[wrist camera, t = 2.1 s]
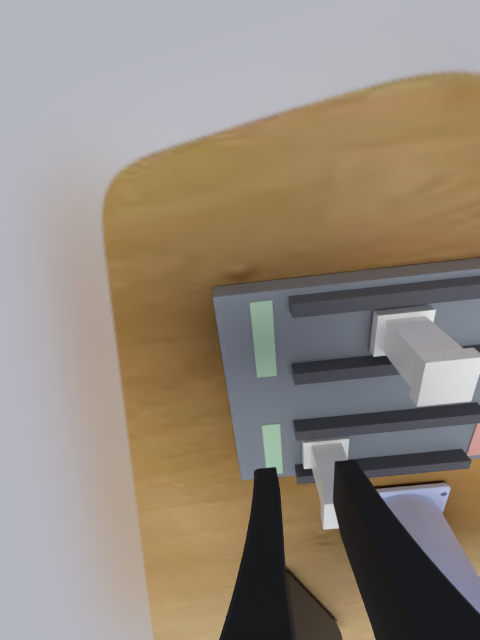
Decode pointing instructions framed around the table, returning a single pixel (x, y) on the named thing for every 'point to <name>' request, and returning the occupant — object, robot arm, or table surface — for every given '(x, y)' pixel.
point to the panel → (343, 369)
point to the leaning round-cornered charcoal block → (308, 615)
